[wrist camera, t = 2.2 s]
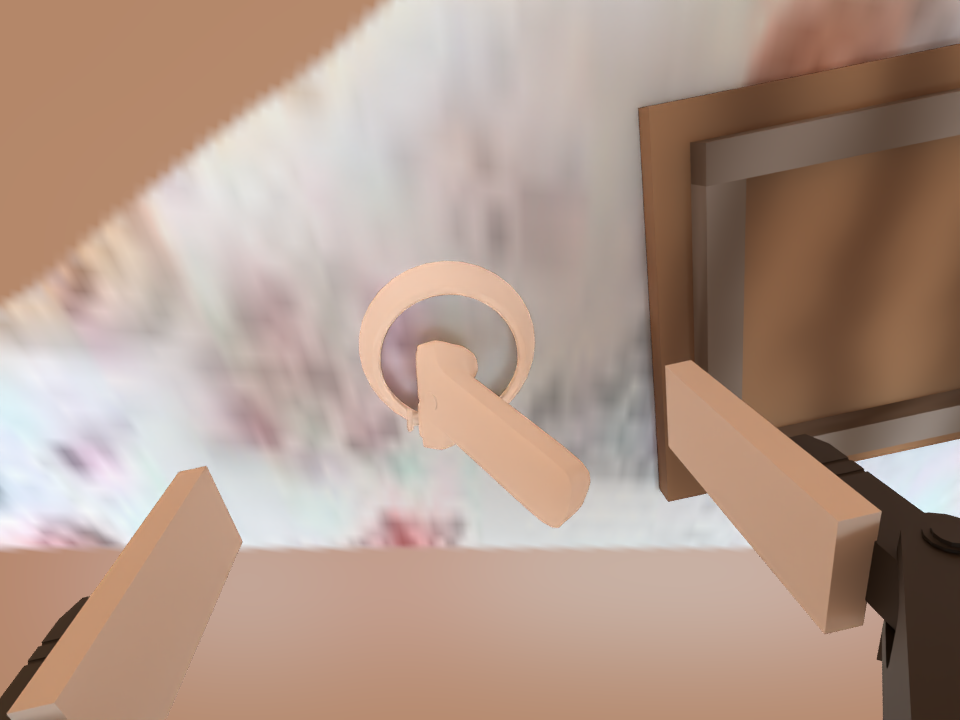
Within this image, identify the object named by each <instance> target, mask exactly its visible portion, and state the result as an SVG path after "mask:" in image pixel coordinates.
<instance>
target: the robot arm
mask: <svg viewBox="0 0 960 720" xmlns="http://www.w3.org/2000/svg"><path fill="white" fill-rule="evenodd" d="M665 375H666V398H667V422H668V445H669V447H670V449H671V450H672V451H673V452H674V453H675V455H676V456H677V457H678V458H679V460H680V461H681V462H682V463H683V464H684V466H685V467H686V468H687V469H688V470H689V472H690V473H691V474H692V475H693V476H694V478H695V479H696V480H697V481H698V482H699V484H700V485H701V486H702V487H703V488H704V490H705V491H706V492H707V493H708V494H709V496H710V497H711V498H712V499H713V501H714V502H715V503H716V504H717V505H718V507H719V508H720V509H721V510H722V511H723V513H724V514H725V515H726V516H727V517H728V519H729V520H730V521H731V522H732V523H733V525H734V526H735V527H736V528H737V529H738V531H739V532H740V533H741V534H742V535H743V537H744V538H745V539H746V540H747V542H748V543H749V544H750V545H751V546H752V548H753V549H754V550H755V551H756V552H757V554H758V555H759V556H760V557H761V558H762V560H763V561H764V562H765V563H766V564H767V566H768V567H769V568H770V569H771V570H772V572H773V573H774V574H775V575H776V576H777V578H778V579H779V580H780V581H781V582H782V584H783V585H784V586H785V587H786V588H787V590H788V591H789V592H790V593H791V594H792V596H793V597H794V598H795V599H796V601H797V602H798V603H799V604H800V605H801V607H802V608H803V609H804V610H805V611H806V613H807V614H808V615H809V616H810V617H811V619H812V620H813V621H814V622H815V623H816V625H817V626H818V627H819V628H820V630H821V631H822V632H823V633H824V634H828V633H832V632H837V631H840V630H845V629H849V628H853V627H858V626H861V625H863V623H864V617H865V611H866V604H867V602H868V603H869V604H870V606H871V607H872V608H873V609H874V610H875V611H876V612H877V613H878V614H879V615H880V616H881V617H882V618H883V619H884V624H883V628H882V634H881V639H880V645H879V650H878V655H877V660H880V661H882V675H883V676H882V679H883V680H882V681H883V682H882V683H883V720H960V518H958V517H954V516H951V515H947V514H938V513H924V512H922V511H921V510H920V509H918V508H917V507H916V506H914V505H913V504H911V503H910V502H909V501H907V500H906V499H905V498H903V497H902V496H900V495H899V494H898V493H896V492H895V491H894V490H892V489H891V488H890V487H888V486H887V485H885V484H884V483H883V482H881V481H880V480H879V479H877V478H876V477H874V476H873V475H872V474H870V473H869V472H868V471H867V472H865V471H864V468H862V467H861V466H859V465H858V464H857V463H855V462H854V461H853V460H849V459H848V457H847V456H846V455H844V454H843V453H842V452H840V451H839V450H838V449H836V448H835V447H833V446H832V445H831V444H829V443H827V442H824V441H822V440H819V439H817V438H814V437H812V436H809V435H807V434H802V435H797V436H793V437H787V436H786V435H785V434H784V433H782V432H781V431H780V430H778V429H777V428H776V427H775V426H773V425H772V424H771V423H770V422H768V421H767V420H766V419H765V418H763V417H762V416H761V415H760V414H758V413H757V412H756V411H755V410H753V409H752V408H751V407H750V406H748V405H747V404H746V403H745V402H743V401H742V400H741V399H739V398H738V397H737V396H736V395H734V394H733V393H732V392H731V391H729V390H728V389H727V388H726V387H724V386H723V385H722V384H721V383H719V382H718V381H717V380H716V379H714V378H713V377H712V376H711V375H709V374H708V373H707V372H705V371H704V370H703V369H702V368H700V367H699V366H698V365H697V364H695V363H694V362H693V361H692V360H689V361H684V362H680V363H675V364H670V365H666V366H665ZM242 542H243V541H242V539H241V537H240V535H239V533H238V531H237V529H236V527H235V525H234V522H233V520H232V518H231V516H230V514H229V512H228V510H227V508H226V506H225V504H224V502H223V499H222V497H221V495H220V493H219V491H218V489H217V487H216V485H215V483H214V481H213V478H212V476H211V474H210V472H209V470H208V468H207V466H204V467H199V468H195V469H190V470H185V471H181V472H178V474H177V475H176V477H175V478H174V480H173V481H172V482H171V484H170V485H169V487H168V488H167V489H166V491H165V492H164V494H163V495H162V496H161V498H160V499H159V501H158V502H157V503H156V505H155V506H154V508H153V509H152V510H151V512H150V513H149V515H148V516H147V517H146V519H145V520H144V522H143V523H142V524H141V526H140V527H139V529H138V530H137V531H136V533H135V534H134V536H133V537H132V538H131V540H130V541H129V543H128V544H127V545H126V547H125V548H124V550H123V551H122V552H121V554H120V555H119V557H118V558H117V560H116V561H115V563H114V564H113V565H112V567H111V568H110V569H109V571H108V572H107V573H106V575H105V576H104V578H103V579H102V581H101V582H100V583H99V585H98V586H97V588H96V589H95V590H94V592H93V593H92V595H91V596H89V597H85V598H82V599H81V600H80V601H79V602H78V603H76V604H75V605H74V606H73V607H72V608H71V609H70V610H69V611H68V612H66V613H65V614H64V615H63V616H62V617H61V618H60V619H59V620H58V621H57V623H56V624H55V625H54V627H53V628H52V629H51V631H50V632H49V633H48V635H47V636H46V637H45V639H44V640H43V641H42V646H40V647H38V648H37V649H36V651H35V652H34V653H33V655H32V656H31V657H30V659H29V660H28V665H26V666H24V667H23V668H22V670H21V671H20V672H19V674H18V675H17V676H16V678H15V679H14V680H13V682H12V683H11V684H10V686H9V687H8V688H7V690H6V691H5V692H4V694H3V695H2V696H1V698H0V720H166V719H167V716H168V714H169V712H170V709H171V707H172V705H173V702H174V700H175V698H176V695H177V693H178V691H179V689H180V686H181V684H182V682H183V679H184V677H185V675H186V672H187V670H188V668H189V665H190V663H191V661H192V658H193V656H194V654H195V651H196V649H197V647H198V644H199V642H200V639H201V637H202V635H203V633H204V630H205V628H206V626H207V623H208V621H209V619H210V616H211V614H212V612H213V609H214V607H215V605H216V602H217V600H218V598H219V595H220V593H221V591H222V588H223V586H224V584H225V582H226V579H227V577H228V575H229V572H230V570H231V567H232V565H233V563H234V561H235V558H236V556H237V554H238V551H239V549H240V547H241V544H242Z"/></svg>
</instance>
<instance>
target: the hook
mask: <svg viewBox="0 0 960 720" xmlns="http://www.w3.org/2000/svg"><path fill="white" fill-rule="evenodd" d="M440 295H462V296H466V297H470V298H474V299H476V300H478V301H481V302H483V303H485V304H487V305H488V306H490V307H491V308H492V309H494V310H495V311H496V312H498V313H499V314H500V316H501V317H502V318H503V319H504V320H505V321H506V322H507V324H508V326H509V328H510V329H511V331H512V333H513V336H514V339H515V342H516V346H517V356H518V358H517V367H516V370H515V373H514V376H513V378H512V380H511V381H510V383H509V385H508V387H507V388H506V389H505V390H504V392H503V393H502V394H501V395H500V396H498V395H496V394H495V393H494V392H492V391H491V390H490V389H488V388H487V387H486V386H484V385H483V384H482V383H480V382H479V381H478V380H476V379H475V378H474V377H475V376H476V374H477V368H478V364H477V359H476V357H475V355H474V354H473V353H472V352H471V351H469V350H468V349H466V348H465V347H464V346H461V345H455V344H451V343H448V342H444V341H437V340H433V341H430V342H426V343H423V344H420V345H418V346H417V352H416V374H417V388H418V398H419V399H420V402H419V403H418V411H416V410H413V409H412V408H410V407H408V406H407V405H405V404H404V403H402V402H401V401H400V400H399V399H398V398H397V397H396V396H395V395H394V394H393V393H392V391H391V390H390V389H389V387H388V386H387V385H386V382H385V380H384V378H383V374H382V369H381V349H382V344H383V340H384V338H385V336H386V334H387V331H388V329H389V327H390V326H391V325H392V323H393V322H394V321H395V319H396V318H397V317H398V316H399V315H400V314H401V313H403V312H404V311H405V310H406V309H407V308H409V307H410V306H412V305H414V304H415V303H417V302H419V301H422V300H424V299H427V298H430V297H434V296H440ZM534 349H535V336H534V327H533V323H532V320H531V317H530V313H529V311H528V309H527V307H526V306H525V304H524V302H523V300H522V298H521V297H520V296H519V295H518V293H517V292H516V291H515V290H514V289H513V288H512V287H511V285H510V284H508V283H507V282H506V281H504V280H503V279H502V278H500V277H499V276H498V275H497V274H495V273H493V272H491V271H489V270H486V269H484V268H482V267H480V266H477V265H473V264H469V263H465V262H456V261H439V262H432V263H426V264H423V265H420V266H417V267H414V268H411V269H408V270H407V271H405V272H403V273H402V274H400V275H398V276H397V277H395V278H393V279H392V280H391V281H390V282H389V283H388V284H387V285H385V286H384V287H383V288H382V289H381V290H380V291H379V292H378V294H377V295H376V296H375V298H374V299H373V301H372V302H371V303H370V305H369V307H368V309H367V311H366V314H365V316H364V318H363V320H362V325H361V330H360V335H359V355H360V359H361V364H362V368H363V371H364V373H365V375H366V377H367V379H368V382H369V384H370V385H371V387H372V388H373V390H374V391H375V392H376V394H377V395H378V397H379V398H380V399H381V400H382V401H383V402H384V403H385V404H386V405H387V406H388V407H390V408H391V409H392V410H393V411H394V412H395V413H397V414H398V415H400V416H402V417H403V418H405V419H407V428H408V431H409V432H411V431H412V430H413V429H414V426H416V425H419V432H420V436H421V437H422V438H423V445H424V447H427V448H433V449H439V450H443V449H446V448H449V447H451V446H453V445H455V444H457V445H458V446H459V447H460V448H461V449H462V450H463V451H464V452H465V453H466V454H467V455H469V456H470V457H471V458H472V459H473V460H474V461H475V462H476V463H477V464H478V465H479V466H481V467H482V468H483V469H484V470H485V471H486V472H487V473H488V474H489V475H490V476H491V477H493V478H494V479H495V480H496V481H497V482H498V483H499V484H500V485H501V486H502V487H503V488H505V489H506V490H507V491H508V492H509V493H510V494H511V495H512V496H513V497H514V498H515V499H517V500H518V501H519V502H520V503H521V504H522V505H523V506H524V507H525V508H526V509H528V510H529V511H530V512H531V513H532V514H533V515H535V516H536V517H537V518H538V519H539V520H541V521H542V522H543V523H545V524H547V525H549V526H551V527H554V528H559V527H560V526H561V525H562V524H563V523H564V522H565V521H567V520H568V519H569V518H570V517H571V516H572V515H573V514H574V513H575V512H576V511H577V510H578V509H579V508H580V507H581V505H582V504H583V502H584V499H585V497H586V494H587V492H588V489H589V485H590V475H589V472H588V470H587V469H586V467H585V466H584V464H583V463H582V462H581V461H580V460H579V459H578V458H577V457H576V456H574V455H573V454H572V453H571V452H570V451H569V450H567V449H566V448H565V447H564V446H563V445H561V444H560V443H559V442H557V441H556V440H555V439H553V438H552V437H551V436H550V435H548V434H547V433H546V432H544V431H543V430H542V429H541V428H539V427H538V426H537V425H535V424H534V423H533V422H531V421H530V420H529V419H528V418H526V417H525V416H524V415H522V414H521V413H520V412H519V411H517V410H516V409H515V408H513V407H512V406H511V405H509V403H510V402H511V401H512V399H513V398H514V397H515V396H516V395H517V394H518V392H519V391H520V389H521V387H522V385H523V384H524V382H525V380H526V378H527V376H528V374H529V371H530V368H531V365H532V362H533V357H534Z"/></svg>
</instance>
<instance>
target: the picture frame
mask: <svg viewBox="0 0 960 720" xmlns="http://www.w3.org/2000/svg"><path fill="white" fill-rule="evenodd" d="M638 109H639V127H640V145H641V163H642V180H643V198H644V216H645V234H646V252H647V270H648V288H649V306H650V323H651V341H652V359H653V377H654V395H655V413H656V431H657V448H658V466H659V484H660V491H661V492H662V493H663V495H664V496H665V498H666V499H667V501H668V502H669V501H674V500H679V499H683V498H688V497H692V496H697V495H702V494H706V493H707V492H706V491H705V490H704V488H703V487H702V486H701V485H700V484H699V482H698V481H697V480H696V479H695V478H694V476H693V475H692V474H691V473H690V472H689V470H688V469H687V468H686V467H685V466H684V464H683V463H682V462H681V461H680V460H679V458H678V457H677V456H676V455H675V453H674V452H673V451H672V450H671V449H670V447H669V445H668V422H667V398H666V375H665V366H666V365H670V364H675V363H680V362H684V361H689V360H692V361H693V362H694V363H695V364H697V365H698V366H699V367H700V368H702V369H703V370H704V371H705V372H707V373H708V374H709V375H711V376H712V377H713V378H714V379H716V380H717V381H718V382H719V383H721V384H722V385H723V386H724V387H726V388H727V389H728V390H729V391H731V392H732V393H733V394H734V395H736V396H737V397H738V398H739V399H741V400H742V401H743V402H745V403H746V404H747V405H748V406H750V407H751V408H752V409H753V410H755V411H756V412H757V413H758V414H760V415H761V416H762V417H763V418H765V419H766V420H767V421H768V422H770V423H771V424H772V425H773V426H775V427H776V428H777V429H778V430H780V431H781V432H782V433H784V434H785V435H786V436H787V437H793V436H797V435H802V434H807V435H809V436H812V437H814V438H817V439H819V440H822V441H824V442H827V443H829V444H831V445H832V446H833V447H835V448H836V449H838V450H839V451H840V452H842V453H843V454H844V455H846V456H847V457H848V459H849V460H853V461H854V462H855V461H859V460H864V459H868V458H873V457H878V456H882V455H887V454H892V453H896V452H901V451H905V450H910V449H915V448H919V447H924V446H929V445H933V444H938V443H943V442H947V441H952V440H956V439H960V44H956V45H951V46H946V47H941V48H936V49H931V50H926V51H921V52H916V53H911V54H906V55H901V56H896V57H891V58H886V59H881V60H876V61H871V62H866V63H861V64H856V65H851V66H846V67H841V68H836V69H831V70H826V71H821V72H816V73H811V74H806V75H802V76H797V77H792V78H787V79H782V80H777V81H772V82H767V83H762V84H757V85H752V86H747V87H742V88H737V89H732V90H727V91H722V92H717V93H712V94H707V95H702V96H697V97H692V98H687V99H682V100H677V101H672V102H667V103H662V104H657V105H652V106H647V107H642V108H638Z"/></svg>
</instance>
